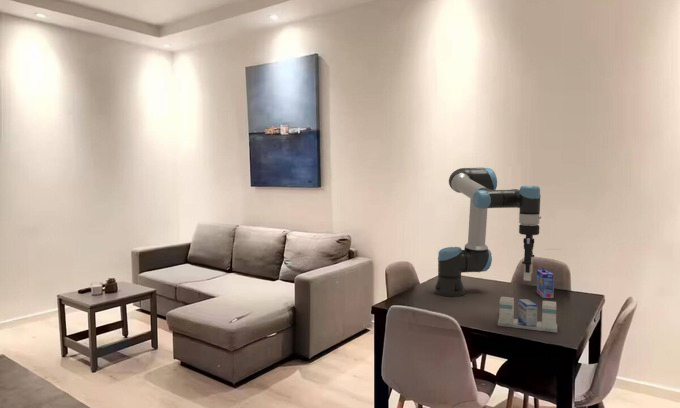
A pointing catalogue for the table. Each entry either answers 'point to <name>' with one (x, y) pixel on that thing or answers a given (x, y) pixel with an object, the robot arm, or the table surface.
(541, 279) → the ink cartridge box
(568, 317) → the table surface
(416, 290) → the table surface
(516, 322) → the white u-shaped block
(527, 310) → the medicine box
